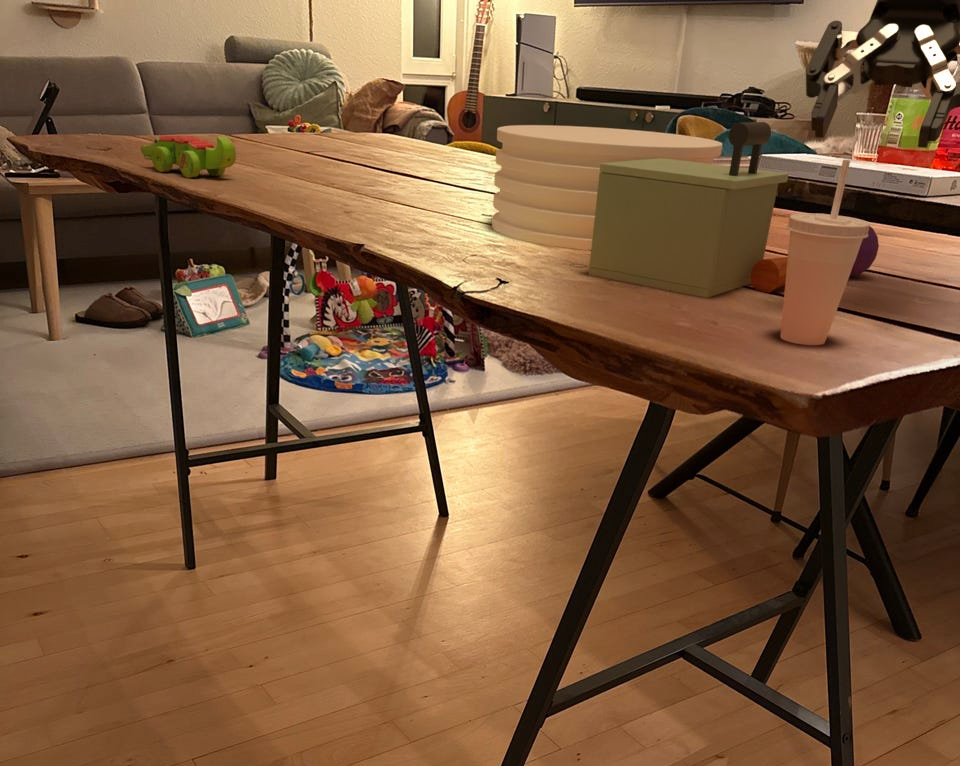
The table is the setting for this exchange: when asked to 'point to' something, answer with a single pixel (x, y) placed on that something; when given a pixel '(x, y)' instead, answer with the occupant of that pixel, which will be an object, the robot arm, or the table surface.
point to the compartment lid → (709, 173)
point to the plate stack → (571, 176)
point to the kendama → (773, 270)
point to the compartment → (679, 233)
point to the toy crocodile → (190, 155)
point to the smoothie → (819, 268)
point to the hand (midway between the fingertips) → (870, 135)
